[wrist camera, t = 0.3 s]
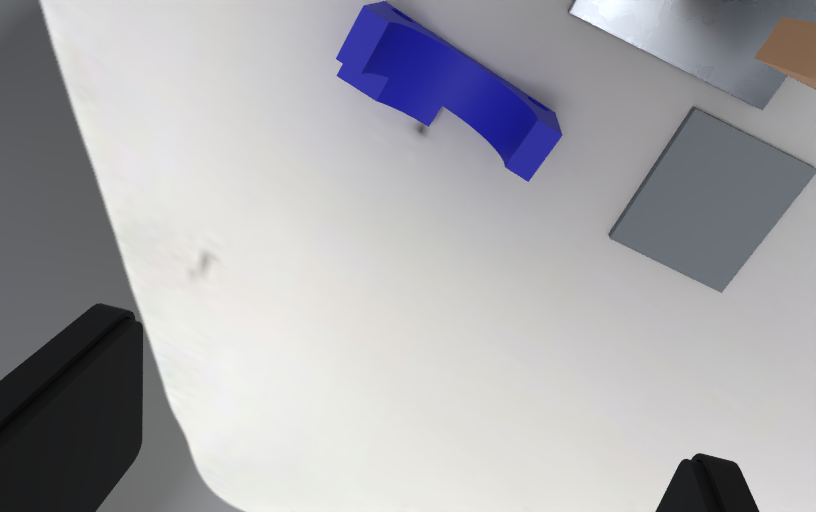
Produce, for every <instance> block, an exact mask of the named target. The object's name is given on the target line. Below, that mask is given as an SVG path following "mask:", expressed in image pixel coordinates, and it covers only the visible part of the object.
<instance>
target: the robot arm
mask: <svg viewBox="0 0 816 512" xmlns="http://www.w3.org/2000/svg"><path fill="white" fill-rule="evenodd" d="M142 397H143V326H142V324H141V323H140V322H137V321H135V316H134V314H133V312H131V311H129V310H125V309H121V308H117V307H113V306H109V305H105V304H96V305H94V306H92V307H91V308H90V309H89V310H87V311H86V312H85V313H84V314H82V315H81V316H80V317H79V318H77V319H76V320H75V321H74V322H72V323H71V324H70V325H69V326H68V327H66V328H65V329H64V330H63V331H61V332H60V333H59V334H58V335H56V336H55V337H54V338H53V339H51V340H50V341H49V342H48V343H47V344H45V345H44V346H43V347H42V348H40V349H39V350H38V351H37V352H35V353H34V354H33V355H32V356H31V357H29V358H28V359H27V360H25V361H24V362H23V363H22V364H20V365H19V366H18V367H17V368H16V369H14V370H13V371H12V372H10V373H9V374H8V375H7V376H6V377H4V378H3V379H2V380H1V381H0V512H96V510H97V509H98V508H99V506H100V505H101V504H102V502H103V501H104V500H105V498H106V497H107V496H108V494H109V493H110V492H111V491H112V489H113V488H114V487H115V485H116V484H117V483H118V482H119V480H120V479H121V478H122V476H123V475H124V474H125V472H126V471H127V470H128V469H129V467H130V466H131V465H132V463H133V462H134V460H135V459H136V457H137V455H138V453H139V450H140V448H141V444H142ZM656 512H759V510H758V508H757V505H756V503H755V501H754V499H753V496H752V494H751V492H750V490H749V487H748V485H747V483H746V481H745V479H744V476H743V474H742V472H741V470H740V468H739V466H738V465H737V464H736V463H735V462H733V461H729V460H725V459H721V458H717V457H713V456H709V455H705V454H701V453H699V454H696V455H695V456H693V458H692V459H691V460H688V459H684V460H682V461H681V462H680V464H679V466H678V468H677V470H676V472H675V474H674V476H673V478H672V480H671V482H670V484H669V486H668V488H667V490H666V492H665V494H664V496H663V498H662V500H661V502H660V504H659V506H658V508H657V510H656Z"/></svg>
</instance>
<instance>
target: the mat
mask: <svg viewBox="0 0 816 512" xmlns="http://www.w3.org/2000/svg"><path fill="white" fill-rule="evenodd" d="M815 174H816V169H815V168H814V167H812V166H810V165H808V164H806V163H804V162H802V161H800V160H798V159H796V158H794V157H792V156H790V155H788V154H786V153H784V152H782V151H780V150H778V149H776V148H774V147H772V146H770V145H768V144H766V143H764V142H762V141H760V140H758V139H756V138H754V137H752V136H750V135H748V134H746V133H744V132H742V131H740V130H738V129H736V128H734V127H732V126H730V125H728V124H726V123H724V122H722V121H720V120H718V119H716V118H715V117H713V116H711V115H709V114H707V113H705V112H703V111H701V110H699V109H697V108H695V107H693V108H692V109H691V111H690V112H689V114H688V115H687V117H686V118H685V120H684V121H683V123H682V124H681V126H680V127H679V129H678V130H677V132H676V133H675V135H674V136H673V138H672V139H671V141H670V142H669V144H668V145H667V147H666V148H665V150H664V151H663V153H662V154H661V156H660V158H659V159H658V161H657V162H656V164H655V165H654V167H653V168H652V170H651V171H650V173H649V174H648V176H647V177H646V179H645V180H644V182H643V183H642V185H641V186H640V188H639V189H638V191H637V192H636V194H635V195H634V197H633V198H632V200H631V201H630V203H629V204H628V206H627V207H626V209H625V210H624V212H623V214H622V215H621V217H620V218H619V220H618V221H617V223H616V224H615V226H614V227H613V229H612V230H611V232H610V233H609V237H610V239H612V240H615V241H617V242H619V243H621V244H623V245H625V246H627V247H629V248H631V249H633V250H635V251H637V252H639V253H641V254H643V255H645V256H647V257H649V258H651V259H653V260H655V261H658V262H660V263H662V264H664V265H666V266H668V267H670V268H672V269H674V270H676V271H678V272H680V273H682V274H684V275H686V276H688V277H690V278H692V279H694V280H696V281H698V282H700V283H703V284H705V285H707V286H709V287H711V288H713V289H715V290H717V291H719V292H721V293H722V291H723V290H724V289H725V288H726V286H727V285H728V284H729V283H730V281H731V280H732V279H733V277H734V276H735V275H736V274H737V272H738V271H739V270H740V269H741V267H742V266H743V265H744V264H745V262H746V261H747V260H748V258H749V257H750V256H751V255H752V253H753V252H754V251H755V250H756V248H757V247H758V246H759V245H760V243H761V242H762V241H763V240H764V238H765V237H766V236H767V234H768V233H769V232H770V231H771V229H772V228H773V227H774V226H775V224H776V223H777V222H778V221H779V219H780V218H781V217H782V215H783V214H784V213H785V212H786V210H787V209H788V208H789V207H790V205H791V204H792V203H793V202H794V200H795V199H796V198H797V196H798V195H799V194H800V193H801V191H802V190H803V189H804V188H805V186H806V185H807V184H808V183H809V181H810V180H811V179H812V177H813V176H814V175H815Z"/></svg>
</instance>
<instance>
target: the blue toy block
mask: <svg viewBox="0 0 816 512" xmlns="http://www.w3.org/2000/svg"><path fill="white" fill-rule="evenodd" d="M336 59H337V60H338V61H340V62H341V63H343V65H342V67H341V68H340V70H339V72H338V74H337V76H338V77H339V78H341V79H342V80H344V81H346V82H347V83H349V84H350V85H352V86H353V87H355V88H357V89H358V90H360V91H361V92H363V93H364V94H366V95H368V96H369V97H371V98H372V99H374V100H375V101H378V102H381V103H383V104H386V105H388V106H391V107H393V108H395V109H397V110H400V111H402V112H404V113H406V114H407V115H409V116H411V117H413V118H415V119H417V120H418V121H420V122H422V123H423V124H425V125H427V126H428V127H429V125H430V124H431V122H432V121H433V119H434V117H435V116H436V114H437V113H438V111H439V109H440V108H441V106H443V107H445V108H447V109H448V110H449V111H451V112H452V113H454V114H455V115H457V116H458V117H459V118H461V119H462V120H463V121H465V122H466V123H467V124H469V125H470V126H471V127H472V128H474V129H475V130H476V131H477V132H478V133H480V134H481V135H482V136H483V137H484V138H485V139H486V140H487V141H488V142H489V143H490V144H491V145H492V146H493V147H494V148H495V149H496V151H497V152H498V153H499V154H500V156H501V157H502V159H503V161H504V164H505V167H506V168H507V169H509V170H510V171H512V172H514V173H515V174H517V175H518V176H520V177H521V178H523V179H525V180H526V181H528V182H529V180H530V179H531V178H532V176H533V175H534V173H535V172H536V171H537V169H538V168H539V167H540V165H541V164H542V162H543V161H544V160H545V158H546V157H547V156H548V154H549V153H550V152H551V150H552V149H553V147H554V146H555V145H556V143H557V142H558V141H559V139H560V138H561V136H562V132H561V129H560V126H559V123H558V120H557V117H556V114H555V113H554V112H553V111H551V110H550V109H548V108H547V107H545V106H544V105H542V104H541V103H539V102H538V101H536V100H535V99H533V98H532V97H530V96H528V95H527V94H525V93H524V92H522V91H521V90H519V89H518V88H516V87H515V86H513V85H512V84H510V83H509V82H507V81H506V80H504V79H502V78H501V77H499V76H498V75H496V74H495V73H493V72H492V71H490V70H489V69H487V68H486V67H484V66H483V65H481V64H480V63H478V62H476V61H475V60H473V59H472V58H470V57H469V56H467V55H466V54H464V53H463V52H461V51H460V50H458V49H457V48H455V47H454V46H452V45H450V44H449V43H447V42H446V41H444V40H443V39H441V38H440V37H438V36H437V35H435V34H434V33H432V32H431V31H429V30H428V29H426V28H424V27H423V26H421V25H420V24H418V23H417V22H415V21H414V20H412V19H411V18H409V17H408V16H406V15H405V14H403V13H402V12H400V11H398V10H397V9H395V8H394V7H392V6H391V5H389V4H388V3H386V2H385V1H383V2H379V3H374V4H369V5H365V6H363V8H362V10H361V12H360V13H359V15H358V17H357V19H356V21H355V23H354V25H353V27H352V29H351V31H350V33H349V34H348V36H347V38H346V40H345V42H344V44H343V46H342V48H341V50H340V52H339V54H338V56H337V57H336Z"/></svg>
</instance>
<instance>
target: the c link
mask: <svg viewBox="0 0 816 512" xmlns="http://www.w3.org/2000/svg"><path fill="white" fill-rule="evenodd" d="M754 58H755V59H757V60H759V61H761V62H763V63H765V64H767V65H769V66H771V67H772V68H774V69H776V70H778V71H780V72H782V73H784V74H786V75H788V76H790V77H792V78H794V79H796V80H798V81H800V82H802V83H804V84H806V85H808V86H810V87H812V88H814V89H816V23H815V22H809V21H803V20H797V19H791V18H785V17H782V18H781V19H780V21H779V22H778V24H777V25H776V27H775V28H774V30H773V31H772V32H771V34H770V35H769V37H768V38H767V40H766V41H765V43H764V44H763V46H762V47H761V49H760V50H759V52H758V53H757V54H756V56H755V57H754Z"/></svg>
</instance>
